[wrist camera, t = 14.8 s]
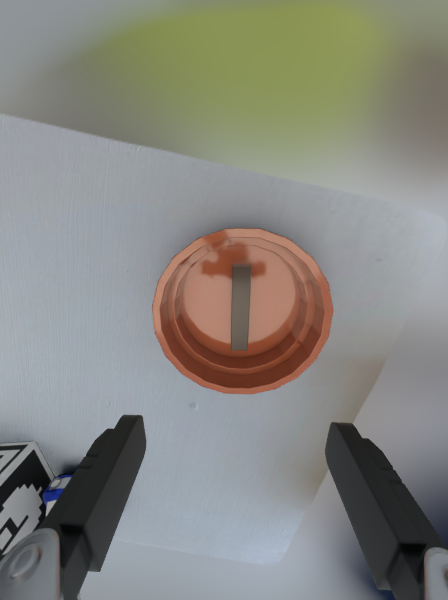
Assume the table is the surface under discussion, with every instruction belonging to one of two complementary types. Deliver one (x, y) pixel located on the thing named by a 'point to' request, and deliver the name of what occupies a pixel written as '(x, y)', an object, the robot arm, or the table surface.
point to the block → (21, 491)
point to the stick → (240, 306)
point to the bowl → (262, 313)
